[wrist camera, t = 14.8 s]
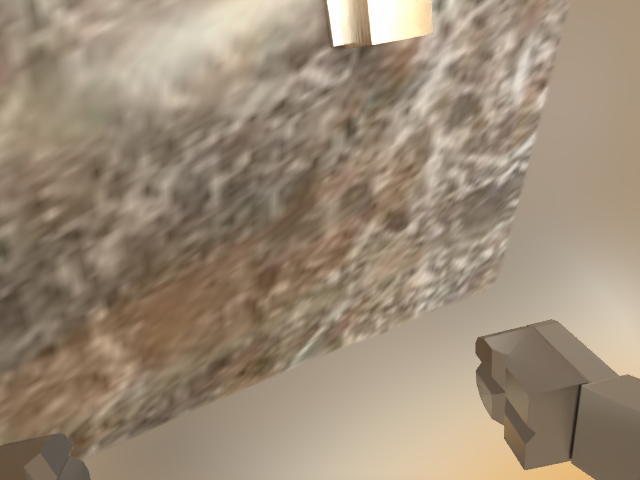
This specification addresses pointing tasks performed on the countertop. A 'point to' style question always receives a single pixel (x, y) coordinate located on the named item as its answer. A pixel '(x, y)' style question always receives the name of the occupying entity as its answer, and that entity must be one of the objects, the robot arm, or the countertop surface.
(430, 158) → the countertop surface
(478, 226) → the countertop surface
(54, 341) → the countertop surface
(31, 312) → the countertop surface
